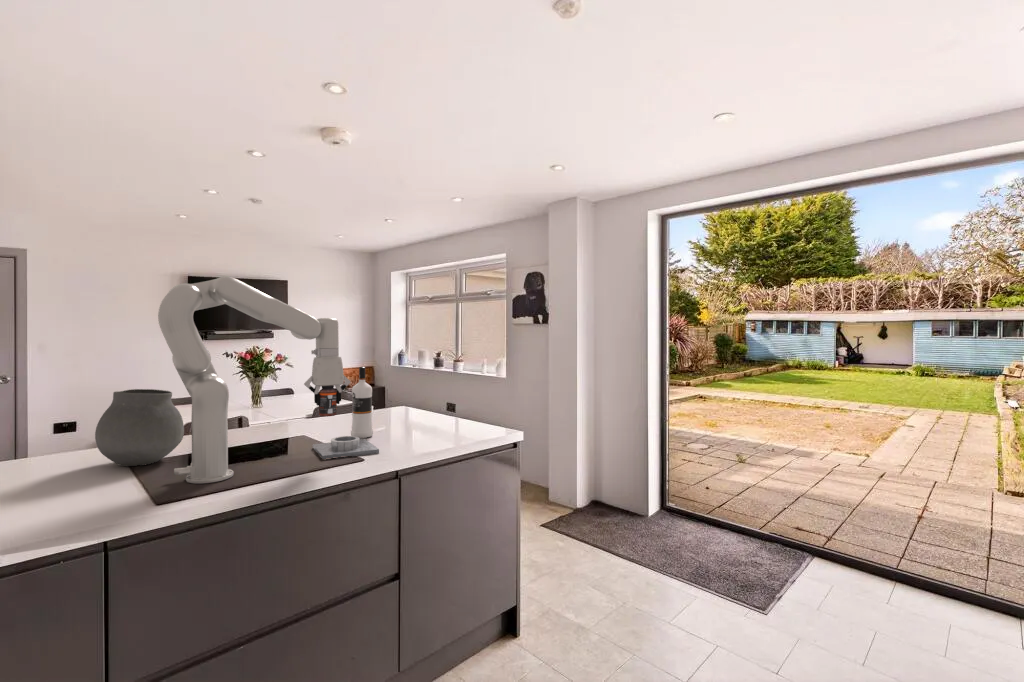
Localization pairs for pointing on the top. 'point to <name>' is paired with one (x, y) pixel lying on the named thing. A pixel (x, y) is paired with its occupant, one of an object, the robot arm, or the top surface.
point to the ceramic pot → (139, 427)
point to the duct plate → (345, 447)
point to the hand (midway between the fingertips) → (327, 403)
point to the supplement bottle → (328, 401)
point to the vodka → (362, 407)
